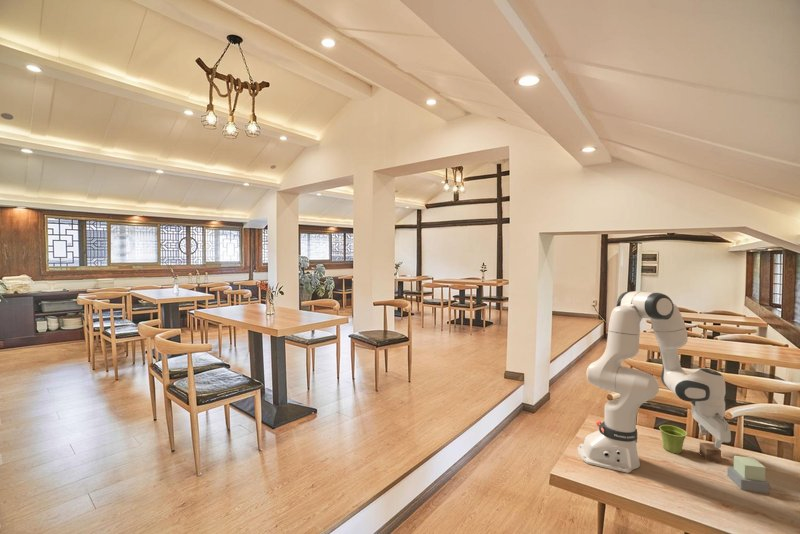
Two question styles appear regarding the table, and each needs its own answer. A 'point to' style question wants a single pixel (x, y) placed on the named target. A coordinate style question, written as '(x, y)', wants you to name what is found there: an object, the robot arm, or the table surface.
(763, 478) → the tower cube
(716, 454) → the walnut cube
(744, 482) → the base slab
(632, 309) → the robot arm
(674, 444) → the plant pot
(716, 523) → the table surface
